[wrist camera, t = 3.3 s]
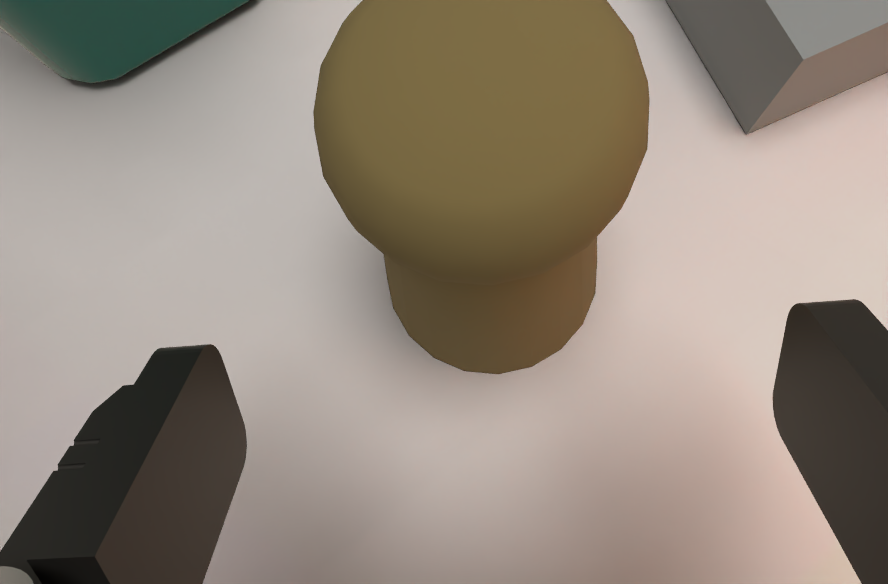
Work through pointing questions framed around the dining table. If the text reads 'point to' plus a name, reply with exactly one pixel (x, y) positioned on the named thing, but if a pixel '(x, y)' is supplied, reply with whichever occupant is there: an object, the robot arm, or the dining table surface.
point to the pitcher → (105, 31)
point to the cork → (484, 162)
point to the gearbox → (785, 50)
